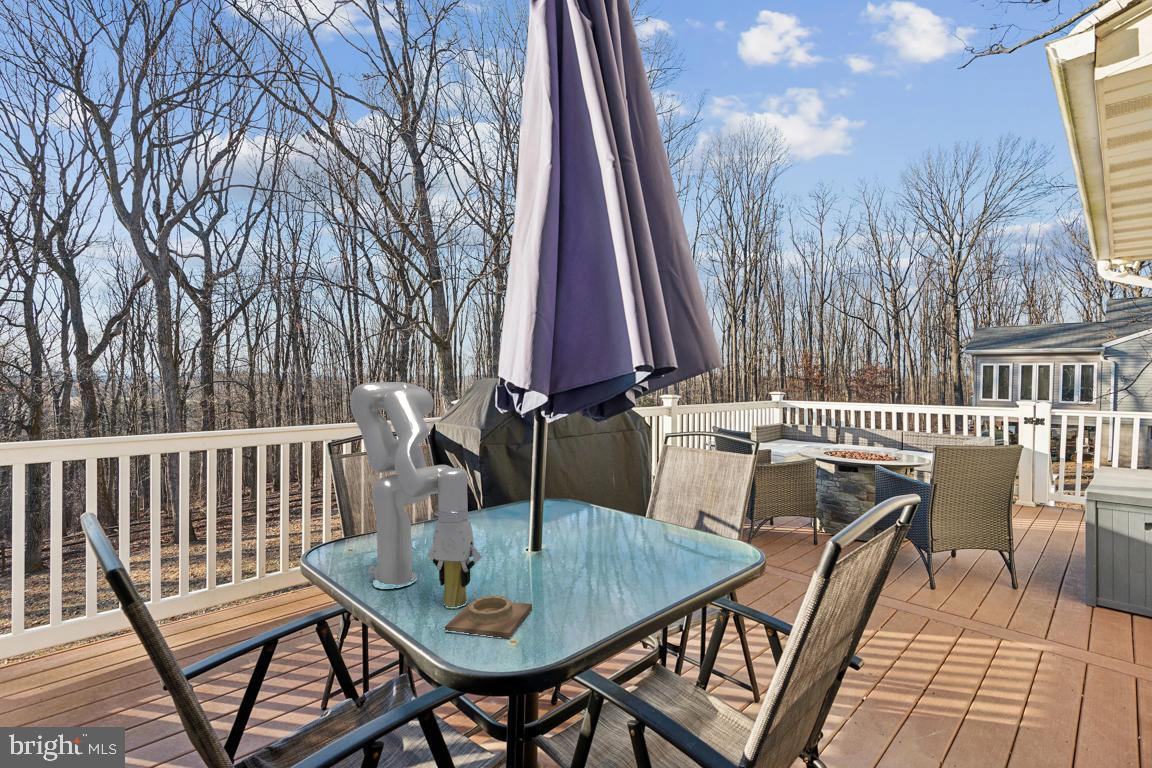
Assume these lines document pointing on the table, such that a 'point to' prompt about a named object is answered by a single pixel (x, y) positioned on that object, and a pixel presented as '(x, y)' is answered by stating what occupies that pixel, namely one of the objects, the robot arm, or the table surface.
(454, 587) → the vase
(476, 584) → the table surface
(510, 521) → the table surface
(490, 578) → the table surface
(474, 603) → the stand
